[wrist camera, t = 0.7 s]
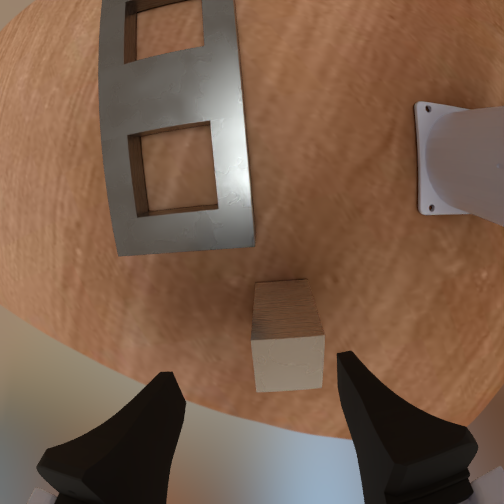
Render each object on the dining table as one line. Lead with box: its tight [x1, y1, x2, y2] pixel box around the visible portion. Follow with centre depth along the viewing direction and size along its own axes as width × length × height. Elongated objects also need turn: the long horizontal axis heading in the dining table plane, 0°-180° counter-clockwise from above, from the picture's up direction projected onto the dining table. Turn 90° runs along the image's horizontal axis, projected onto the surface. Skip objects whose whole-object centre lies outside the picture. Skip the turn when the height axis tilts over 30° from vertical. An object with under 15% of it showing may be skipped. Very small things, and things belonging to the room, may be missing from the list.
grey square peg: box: [251, 279, 325, 392], centre depth 18 cm, size 4×4×7 cm
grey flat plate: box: [98, 0, 256, 256], centre depth 16 cm, size 9×20×2 cm, turn 5°
